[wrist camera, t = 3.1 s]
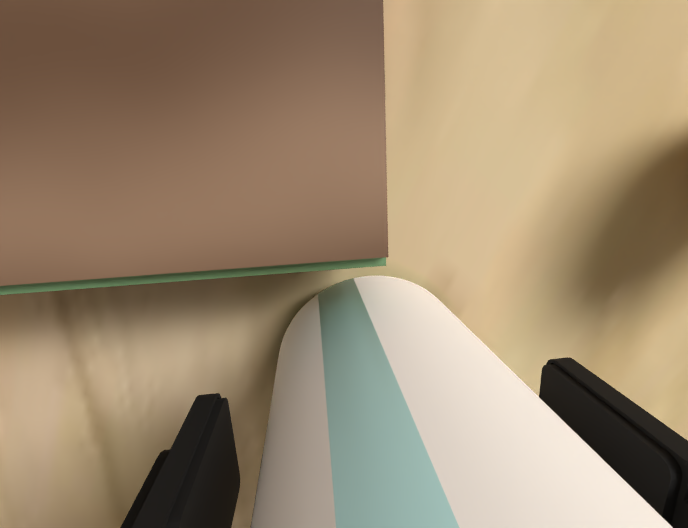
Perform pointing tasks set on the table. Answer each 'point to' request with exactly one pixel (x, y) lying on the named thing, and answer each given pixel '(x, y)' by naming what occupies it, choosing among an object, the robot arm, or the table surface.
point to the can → (419, 428)
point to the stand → (189, 140)
